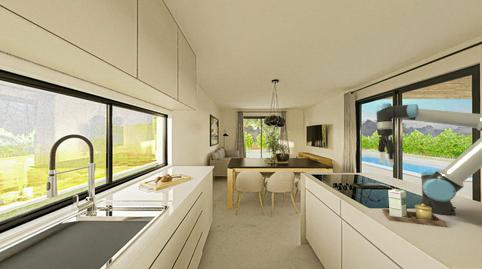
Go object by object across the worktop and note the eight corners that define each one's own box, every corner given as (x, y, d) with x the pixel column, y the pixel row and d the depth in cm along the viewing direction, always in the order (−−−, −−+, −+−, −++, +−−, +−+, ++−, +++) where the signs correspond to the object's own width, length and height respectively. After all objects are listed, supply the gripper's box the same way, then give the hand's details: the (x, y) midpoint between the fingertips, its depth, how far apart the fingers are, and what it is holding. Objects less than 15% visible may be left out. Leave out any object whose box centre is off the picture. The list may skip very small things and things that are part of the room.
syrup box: (402, 220, 100) (401, 192, 101) (389, 216, 105) (388, 189, 106) (407, 218, 103) (406, 190, 103) (394, 214, 108) (393, 188, 109)
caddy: (432, 219, 103) (431, 213, 103) (445, 228, 92) (444, 222, 92) (382, 213, 112) (382, 208, 112) (389, 221, 101) (388, 216, 101)
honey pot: (428, 219, 102) (427, 202, 102) (435, 224, 96) (434, 206, 96) (413, 217, 104) (412, 201, 104) (418, 222, 98) (417, 205, 98)
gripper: (371, 130, 132) (373, 161, 131) (384, 128, 108) (386, 165, 108) (384, 129, 129) (386, 161, 129) (401, 127, 106) (403, 166, 105)
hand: (386, 163), depth 118 cm, fingers open, 13 cm apart
